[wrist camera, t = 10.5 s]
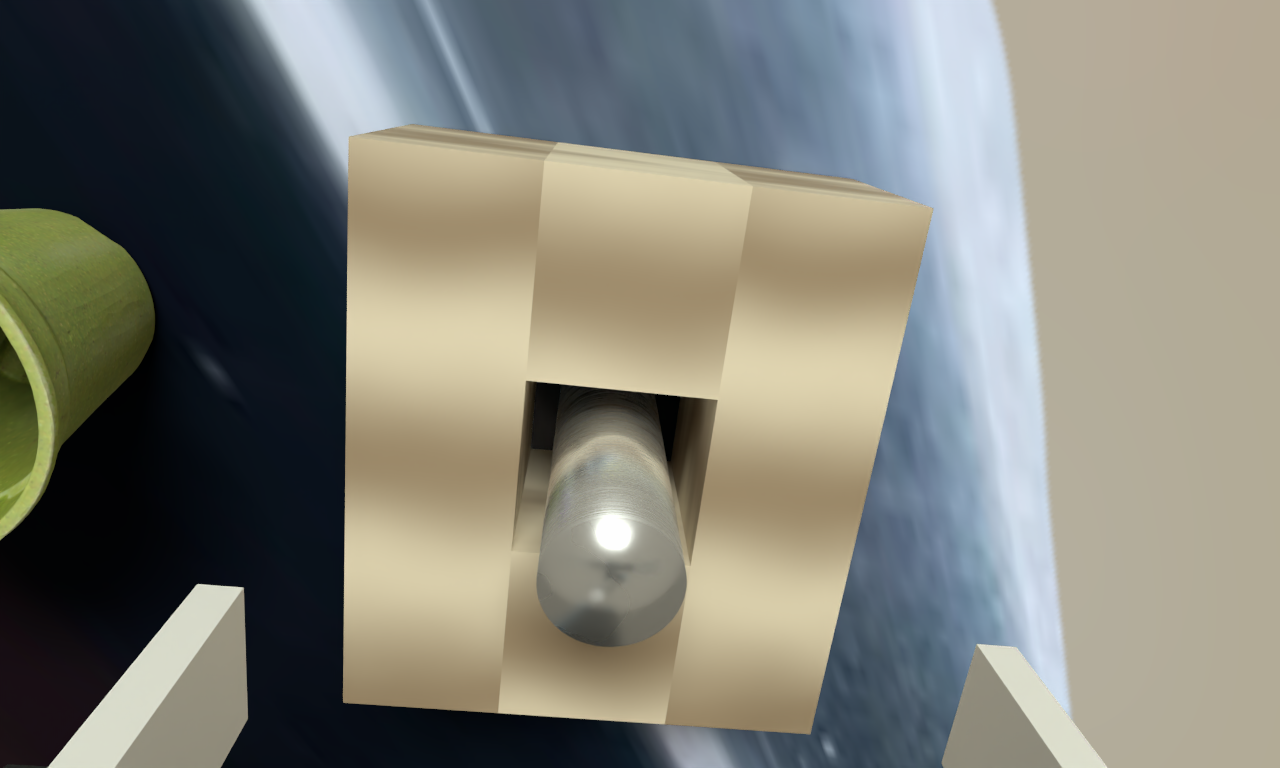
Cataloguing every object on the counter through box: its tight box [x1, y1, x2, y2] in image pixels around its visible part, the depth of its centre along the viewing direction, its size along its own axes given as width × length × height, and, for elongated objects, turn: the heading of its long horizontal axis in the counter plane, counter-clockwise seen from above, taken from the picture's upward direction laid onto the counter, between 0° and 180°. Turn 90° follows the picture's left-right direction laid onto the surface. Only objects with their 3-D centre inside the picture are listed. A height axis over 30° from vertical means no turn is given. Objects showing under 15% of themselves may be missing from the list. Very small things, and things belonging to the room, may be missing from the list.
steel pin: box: [536, 384, 687, 647], centre depth 24 cm, size 3×3×12 cm
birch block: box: [343, 124, 933, 734], centre depth 26 cm, size 16×14×7 cm
